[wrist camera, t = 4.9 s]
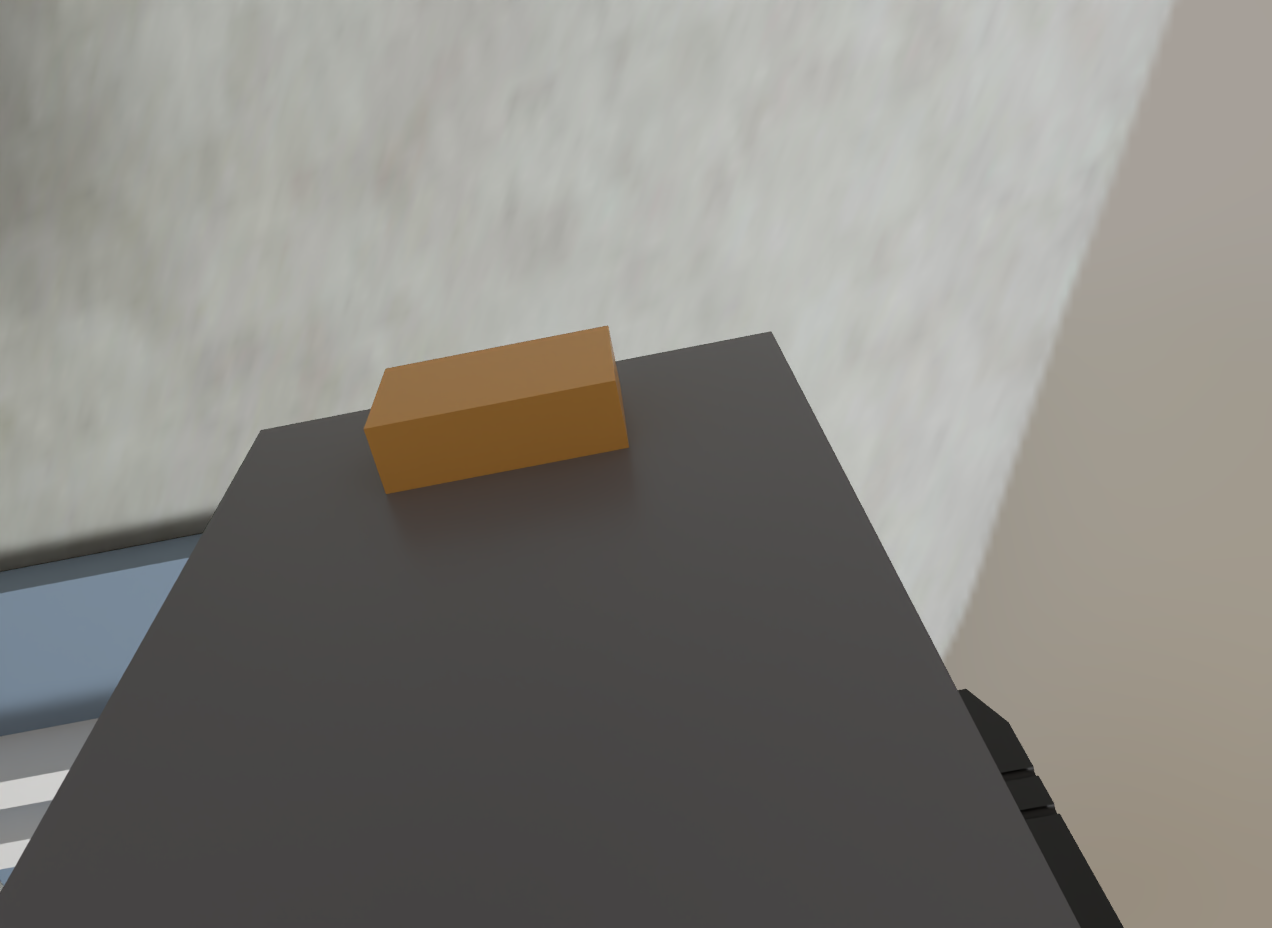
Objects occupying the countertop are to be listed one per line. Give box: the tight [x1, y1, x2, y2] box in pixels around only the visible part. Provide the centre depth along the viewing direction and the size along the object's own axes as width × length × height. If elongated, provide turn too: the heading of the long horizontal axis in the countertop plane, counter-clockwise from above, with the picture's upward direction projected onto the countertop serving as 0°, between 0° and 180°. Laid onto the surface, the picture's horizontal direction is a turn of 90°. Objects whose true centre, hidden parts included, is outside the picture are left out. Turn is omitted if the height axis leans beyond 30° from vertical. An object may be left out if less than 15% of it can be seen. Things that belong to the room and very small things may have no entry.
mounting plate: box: [0, 533, 203, 885], centre depth 29 cm, size 12×22×3 cm, turn 100°
